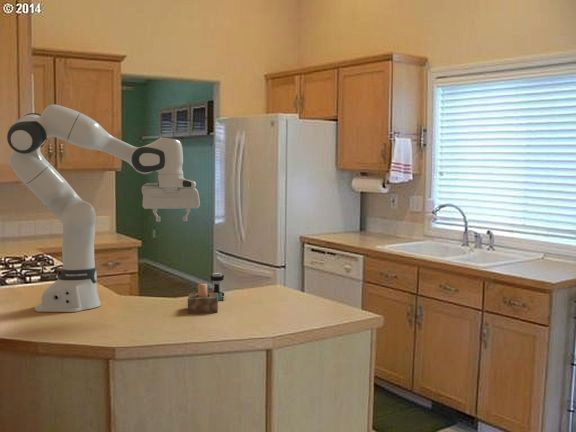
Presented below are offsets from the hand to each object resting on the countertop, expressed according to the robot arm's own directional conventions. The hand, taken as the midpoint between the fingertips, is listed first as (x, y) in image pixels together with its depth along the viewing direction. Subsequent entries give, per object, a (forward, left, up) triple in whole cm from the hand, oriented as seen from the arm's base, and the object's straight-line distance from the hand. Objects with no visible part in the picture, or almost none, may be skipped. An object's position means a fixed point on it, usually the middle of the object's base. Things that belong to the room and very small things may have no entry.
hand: (171, 221), depth 224 cm
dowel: (+11, -8, -31) cm, 34 cm away
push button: (+16, +9, -31) cm, 36 cm away
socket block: (+11, -8, -31) cm, 34 cm away
